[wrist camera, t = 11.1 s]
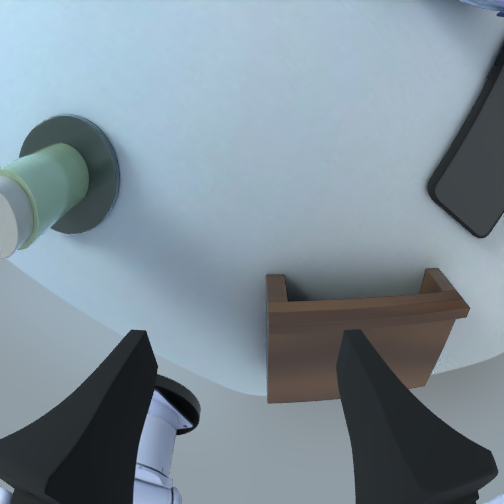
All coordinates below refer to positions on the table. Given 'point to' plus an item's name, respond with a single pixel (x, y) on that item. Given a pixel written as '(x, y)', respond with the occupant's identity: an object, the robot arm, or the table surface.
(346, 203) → the table surface
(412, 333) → the shelf
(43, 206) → the shaker
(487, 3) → the pencil case
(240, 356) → the table surface
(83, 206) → the coaster
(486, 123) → the smartphone
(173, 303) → the table surface
